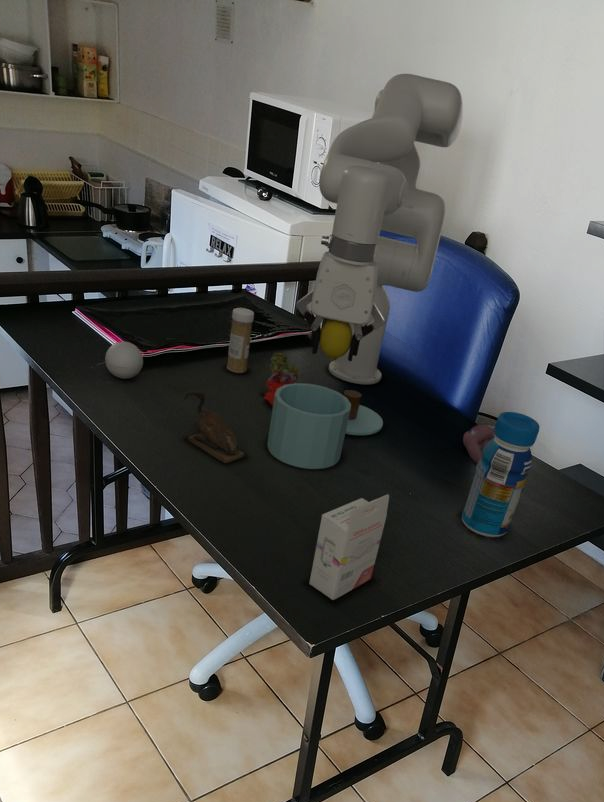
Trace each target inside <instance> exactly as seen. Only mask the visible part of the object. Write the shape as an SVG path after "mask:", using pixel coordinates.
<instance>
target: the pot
mask: <svg viewBox="0 0 604 802" xmlns="http://www.w3.org/2000/svg"><path fill="white" fill-rule="evenodd" d="M343 395H344V394H342V393H340V392H339V391H336V390H334V389H331V388H329V387H327V386H323V385H318V384H313V383H303V382H302V383H301V382H295V383H294V384H287V385H284V386H282V387H280V388H278V389H277V390H276V393H275V397H274V404H273V406H272V409H271V417H270V423H269V431H268V436H267V443H266V444H267V449H268V451H269V453H270V454H271V455H272V456H273V457H274V458H276V460H278V461H280V462H282V463H284V464H287V465H289V466H293V467H296V468H301V469H308V470H320V469H327V468H330V467H333V466H335V465H337V463H338V462H340V459H341V455H342V451H343V447H344V442H345V437H346V434H345V432H346V428H347V423H348V418H349V414H350V408H351V403H350V402H349V400H348V399H347V398H346V397H345V396H343Z"/></svg>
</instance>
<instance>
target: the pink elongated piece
mask: <svg viewBox="0 0 604 802" xmlns="http://www.w3.org/2000/svg"><path fill="white" fill-rule="evenodd" d="M494 428H495V425H492V424H491V425H490V424H478V425H475V426H473V427H472V428H471V429H469V430H467V431H466V432H465V433H464V434H463V437H462V442H463V445H464V447H465V448H466V451H467V454H468V456H469V457H470V459H471V460H472V461H473V462H474V463H476V465H477V464H478V462H479V460H480V459H481V458H482V450H483V448H484V447H485V445H486V444H487V443H488V442H489V441H490V440H491V439H493V438H494V437H495V436H494Z"/></svg>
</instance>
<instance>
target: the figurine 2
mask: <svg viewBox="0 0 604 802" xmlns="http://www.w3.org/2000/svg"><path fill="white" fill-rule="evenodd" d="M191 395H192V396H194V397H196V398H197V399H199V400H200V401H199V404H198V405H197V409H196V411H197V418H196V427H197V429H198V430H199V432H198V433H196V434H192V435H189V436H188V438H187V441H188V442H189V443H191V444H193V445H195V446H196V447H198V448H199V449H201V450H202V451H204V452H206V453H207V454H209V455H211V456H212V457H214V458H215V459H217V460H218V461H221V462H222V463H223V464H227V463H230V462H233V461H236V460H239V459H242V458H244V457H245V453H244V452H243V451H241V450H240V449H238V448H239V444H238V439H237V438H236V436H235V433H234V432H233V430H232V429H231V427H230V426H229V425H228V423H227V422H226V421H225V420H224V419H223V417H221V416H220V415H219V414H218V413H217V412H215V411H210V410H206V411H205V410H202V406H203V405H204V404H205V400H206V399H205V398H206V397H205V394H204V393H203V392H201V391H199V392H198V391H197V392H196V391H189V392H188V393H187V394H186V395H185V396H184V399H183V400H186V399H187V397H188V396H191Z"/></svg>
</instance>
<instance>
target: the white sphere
mask: <svg viewBox="0 0 604 802" xmlns="http://www.w3.org/2000/svg"><path fill="white" fill-rule="evenodd" d="M143 358H144V357H143V354H142V352H141V350H140V349H139V348H138V347H137V346H136V345H135V344H133V343H131V342H129V341H119V342H115V343H113V344H112V345H110V346H109V348H108V349H107V351H106V352H105V357H104V361H103V362H101V363H97V365H96V366H98V365H101V364H104V363H105V366H106V368H107V370H108V372H109V373H110V374H112V375H113V376H114V377H116V378H118V379H122V380H127V379H132V378H134V377H135V376H137V375H138V374H139V373H140V371H141V370H142V369H143V365H144V359H143Z"/></svg>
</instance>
